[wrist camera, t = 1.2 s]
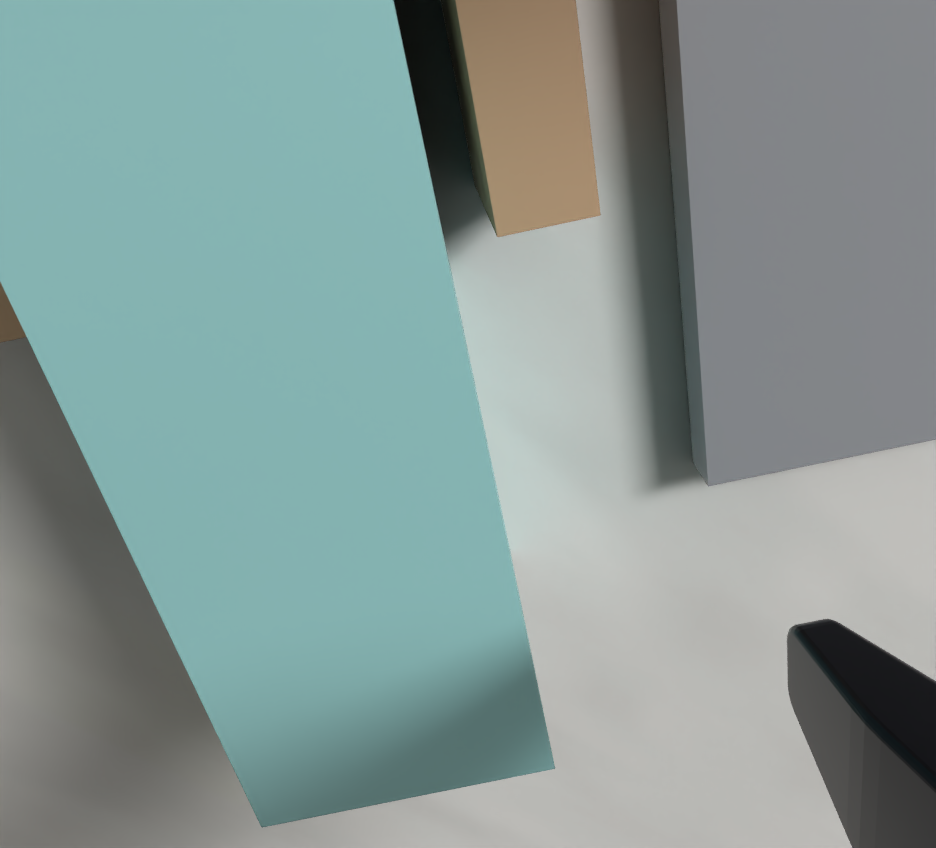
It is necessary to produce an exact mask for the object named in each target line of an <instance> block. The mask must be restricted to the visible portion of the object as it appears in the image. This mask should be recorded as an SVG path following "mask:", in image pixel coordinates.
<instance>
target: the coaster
mask: <svg viewBox="0 0 936 848" xmlns="http://www.w3.org/2000/svg"><path fill="white" fill-rule="evenodd" d="M659 11H660V25H661V38H662V51H663V65H664V78H665V92H666V105H667V119H668V132H669V146H670V159H671V173H672V186H673V200H674V213H675V227H676V240H677V254H678V267H679V281H680V294H681V307H682V321H683V334H684V348H685V361H686V375H687V388H688V402H689V415H690V429H691V442H692V456H693V463H694V465H695V466H696V468H697V470H698V471H699V473H700V474H701V476H702V477H703V479H704V480H705V482H706V483H707V485H708V486H712V485H717V484H722V483H726V482H731V481H736V480H741V479H746V478H751V477H756V476H761V475H765V474H770V473H775V472H780V471H785V470H790V469H795V468H799V467H804V466H809V465H814V464H819V463H824V462H829V461H833V460H838V459H843V458H848V457H853V456H858V455H863V454H868V453H872V452H877V451H882V450H887V449H892V448H897V447H902V446H906V445H911V444H916V443H921V442H926V441H931V440H936V0H659Z"/></svg>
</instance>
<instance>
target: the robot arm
mask: <svg viewBox="0 0 936 848" xmlns="http://www.w3.org/2000/svg"><path fill="white" fill-rule="evenodd" d="M787 661H788V691H789V696H790V700H791V703H792V707H793V709H794V712H795V714H796V717H797V719H798V721H799V724H800V726H801V729H802V731H803V733H804V736H805V738H806V740H807V743H808V745H809V747H810V750H811V752H812V754H813V757H814V759H815V761H816V764H817V766H818V768H819V771H820V773H821V775H822V778H823V780H824V783H825V785H826V787H827V790H828V792H829V794H830V797H831V799H832V801H833V804H834V806H835V808H836V811H837V813H838V815H839V818H840V820H841V822H842V825H843V827H844V829H845V832H846V834H847V836H848V839H849V841H850V843H851V845H852V848H936V681H934V680H933V679H931V678H929V677H928V676H926V675H925V674H923V673H921V672H920V671H918V670H916V669H915V668H913V667H911V666H910V665H908V664H906V663H905V662H903V661H901V660H900V659H898V658H896V657H895V656H893V655H891V654H890V653H888V652H886V651H885V650H883V649H882V648H880V647H878V646H877V645H875V644H873V643H872V642H870V641H868V640H867V639H865V638H863V637H862V636H860V635H858V634H857V633H855V632H853V631H852V630H850V629H848V628H847V627H845V626H843V625H842V624H840V623H838V622H836V621H834V620H830V619H823V620H818V621H813V622H808V623H803V624H798V625H795V626H793V627H791V628H790V629H789V632H788V636H787Z"/></svg>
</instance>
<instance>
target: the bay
mask: <svg viewBox="0 0 936 848" xmlns="http://www.w3.org/2000/svg"><path fill="white" fill-rule="evenodd" d="M441 5H442V10H443V16H444V21H445V26H446V32H447V37H448V43H449V48H450V54H451V59H452V64H453V70H454V75H455V81H456V86H457V91H458V97H459V102H460V108H461V113H462V118H463V124H464V129H465V135H466V140H467V146H468V151H469V156H470V162H471V167H472V173H473V178H474V183H475V187H476V189H477V191H478V194H479V196H480V198H481V201H482V203H483V205H484V208H485V210H486V212H487V214H488V217H489V219H490V221H491V224H492V226H493V228H494V230H495V233H496V235H497V237H501V236H505V235H510V234H515V233H520V232H524V231H529V230H534V229H538V228H543V227H548V226H553V225H557V224H562V223H567V222H571V221H576V220H581V219H586V218H590V217H595V216H600V206H599V198H598V189H597V180H596V172H595V163H594V155H593V146H592V137H591V129H590V120H589V112H588V103H587V94H586V86H585V77H584V69H583V60H582V52H581V43H580V34H579V26H578V17H577V9H576V0H441ZM24 337H27V336H26V334H25V332H24V330H23V328H22V326H21V324H20V322H19V320H18V318H17V316H16V314H15V311H14V309H13V307H12V305H11V303H10V301H9V299H8V297H7V295H6V293H5V291H4V288H3V286H2V284H1V282H0V343H1V342H6V341H10V340H15V339H20V338H24Z"/></svg>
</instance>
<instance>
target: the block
mask: <svg viewBox="0 0 936 848" xmlns="http://www.w3.org/2000/svg"><path fill="white" fill-rule="evenodd" d="M0 282H1V284H2V286H3V288H4V291H5V293H6V295H7V297H8V299H9V301H10V303H11V305H12V307H13V309H14V311H15V314H16V316H17V318H18V320H19V322H20V324H21V326H22V328H23V330H24V332H25V334H26V336H27V339H28V341H29V343H30V345H31V347H32V349H33V351H34V353H35V355H36V357H37V359H38V362H39V364H40V366H41V368H42V370H43V372H44V374H45V376H46V378H47V380H48V382H49V384H50V387H51V389H52V391H53V393H54V395H55V397H56V399H57V401H58V403H59V405H60V407H61V410H62V412H63V414H64V416H65V418H66V420H67V422H68V424H69V426H70V428H71V430H72V432H73V435H74V437H75V439H76V441H77V443H78V445H79V447H80V449H81V451H82V453H83V455H84V458H85V460H86V462H87V464H88V466H89V468H90V470H91V472H92V474H93V476H94V478H95V481H96V483H97V485H98V487H99V489H100V491H101V493H102V495H103V497H104V499H105V501H106V503H107V506H108V508H109V510H110V512H111V514H112V516H113V518H114V520H115V522H116V524H117V526H118V529H119V531H120V533H121V535H122V537H123V539H124V541H125V543H126V545H127V547H128V549H129V551H130V554H131V556H132V558H133V560H134V562H135V564H136V566H137V568H138V570H139V572H140V574H141V577H142V579H143V581H144V583H145V585H146V587H147V589H148V591H149V593H150V595H151V597H152V600H153V602H154V604H155V606H156V608H157V610H158V612H159V614H160V616H161V618H162V620H163V622H164V625H165V627H166V629H167V631H168V633H169V635H170V637H171V639H172V641H173V643H174V645H175V648H176V650H177V652H178V654H179V656H180V658H181V660H182V662H183V664H184V666H185V668H186V670H187V673H188V675H189V677H190V679H191V681H192V683H193V685H194V687H195V689H196V691H197V693H198V696H199V698H200V700H201V702H202V704H203V706H204V708H205V710H206V712H207V714H208V716H209V719H210V721H211V723H212V725H213V727H214V729H215V731H216V733H217V735H218V737H219V739H220V741H221V744H222V746H223V748H224V750H225V752H226V754H227V756H228V758H229V760H230V762H231V764H232V767H233V769H234V771H235V773H236V775H237V777H238V779H239V781H240V783H241V785H242V787H243V789H244V792H245V794H246V796H247V798H248V800H249V802H250V804H251V806H252V808H253V810H254V812H255V815H256V817H257V819H258V821H259V823H260V825H261V827H267V826H272V825H277V824H282V823H287V822H292V821H297V820H302V819H307V818H312V817H317V816H322V815H327V814H331V813H336V812H341V811H346V810H351V809H356V808H361V807H366V806H371V805H376V804H381V803H386V802H391V801H396V800H401V799H406V798H411V797H416V796H421V795H426V794H431V793H436V792H441V791H446V790H451V789H456V788H461V787H466V786H471V785H476V784H481V783H486V782H491V781H496V780H501V779H506V778H511V777H516V776H521V775H526V774H531V773H536V772H541V771H546V770H551V769H555V766H554V761H553V756H552V751H551V746H550V742H549V737H548V732H547V727H546V722H545V717H544V713H543V708H542V703H541V698H540V693H539V689H538V684H537V679H536V674H535V669H534V664H533V660H532V655H531V650H530V645H529V640H528V635H527V631H526V626H525V621H524V616H523V611H522V606H521V602H520V597H519V592H518V587H517V582H516V578H515V573H514V568H513V563H512V558H511V553H510V549H509V544H508V539H507V534H506V530H505V525H504V520H503V515H502V511H501V506H500V501H499V496H498V492H497V487H496V482H495V477H494V473H493V468H492V463H491V458H490V454H489V449H488V444H487V439H486V435H485V430H484V425H483V421H482V416H481V411H480V406H479V402H478V397H477V392H476V387H475V383H474V378H473V373H472V368H471V364H470V359H469V354H468V349H467V345H466V340H465V335H464V330H463V326H462V321H461V316H460V311H459V307H458V302H457V297H456V292H455V288H454V283H453V278H452V273H451V269H450V264H449V259H448V254H447V250H446V245H445V240H444V235H443V231H442V226H441V221H440V216H439V212H438V207H437V202H436V197H435V193H434V188H433V183H432V178H431V174H430V169H429V164H428V160H427V155H426V150H425V145H424V141H423V136H422V131H421V126H420V122H419V117H418V112H417V107H416V103H415V98H414V93H413V88H412V84H411V79H410V74H409V69H408V65H407V60H406V55H405V50H404V46H403V41H402V36H401V31H400V27H399V22H398V17H397V12H396V8H395V3H394V0H0Z"/></svg>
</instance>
